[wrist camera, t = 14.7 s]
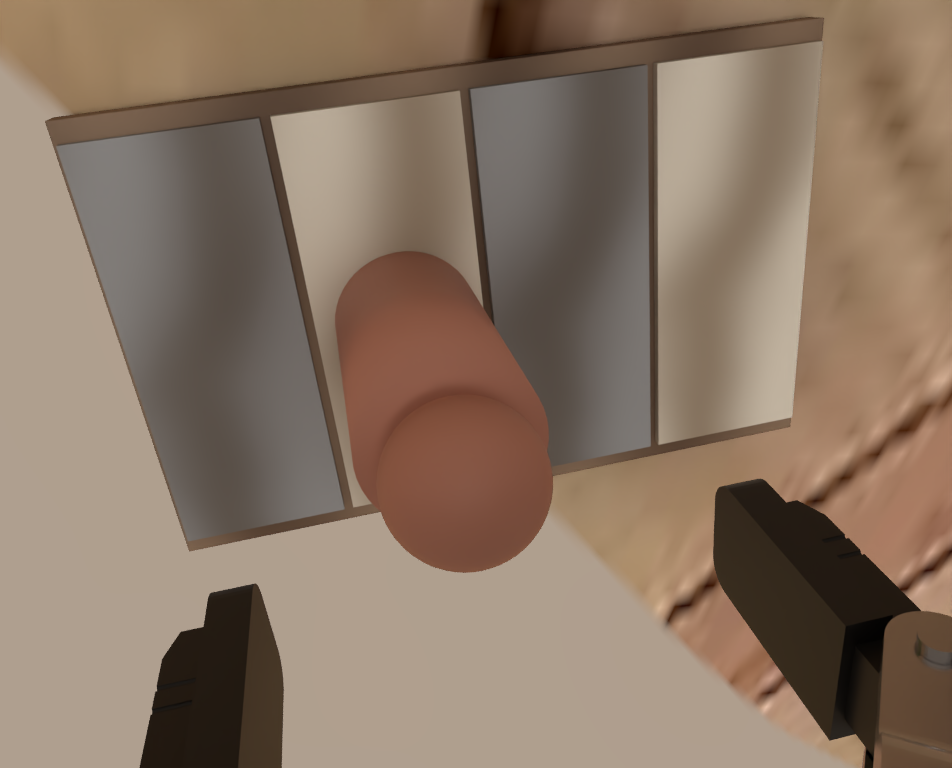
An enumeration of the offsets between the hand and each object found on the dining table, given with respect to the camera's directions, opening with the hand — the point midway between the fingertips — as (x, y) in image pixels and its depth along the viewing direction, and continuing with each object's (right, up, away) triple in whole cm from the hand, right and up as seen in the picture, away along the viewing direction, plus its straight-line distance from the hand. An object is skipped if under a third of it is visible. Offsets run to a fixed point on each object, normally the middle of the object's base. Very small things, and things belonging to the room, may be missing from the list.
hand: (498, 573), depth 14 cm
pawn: (-3, +5, +11) cm, 12 cm away
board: (0, +6, +12) cm, 14 cm away
